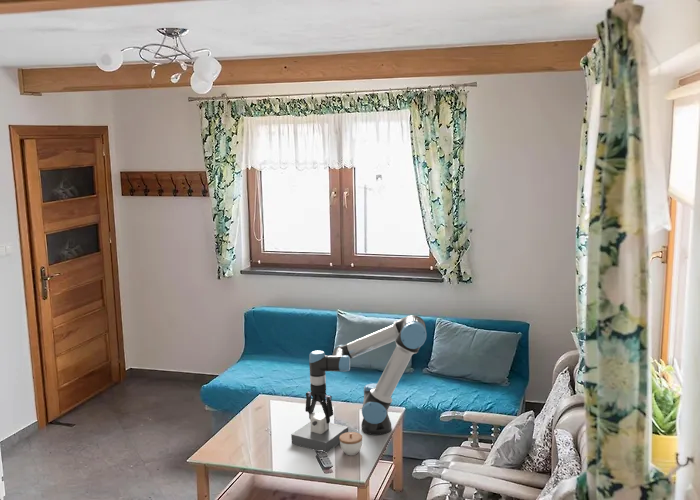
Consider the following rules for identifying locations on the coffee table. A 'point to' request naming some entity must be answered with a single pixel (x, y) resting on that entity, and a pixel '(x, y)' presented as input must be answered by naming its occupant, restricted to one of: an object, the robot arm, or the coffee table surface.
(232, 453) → the coffee table surface
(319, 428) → the plug
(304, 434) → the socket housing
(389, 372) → the robot arm
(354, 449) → the lidded jar
